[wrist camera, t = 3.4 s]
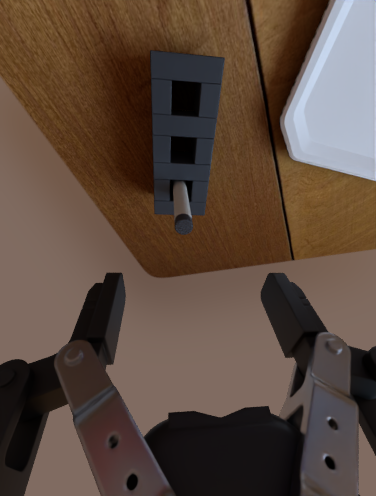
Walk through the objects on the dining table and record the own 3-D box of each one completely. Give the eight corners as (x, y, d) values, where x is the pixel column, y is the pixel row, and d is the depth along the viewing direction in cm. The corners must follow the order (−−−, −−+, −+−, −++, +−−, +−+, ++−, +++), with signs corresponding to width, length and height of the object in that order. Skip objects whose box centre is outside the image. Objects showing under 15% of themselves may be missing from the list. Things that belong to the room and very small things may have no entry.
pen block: (199, 196, 28) (204, 215, 24) (156, 195, 28) (154, 214, 24) (213, 62, 20) (225, 57, 16) (153, 56, 19) (150, 50, 16)
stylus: (171, 178, 26) (173, 233, 17) (173, 167, 26) (176, 218, 16) (182, 180, 27) (190, 236, 17) (185, 169, 26) (194, 221, 16)
